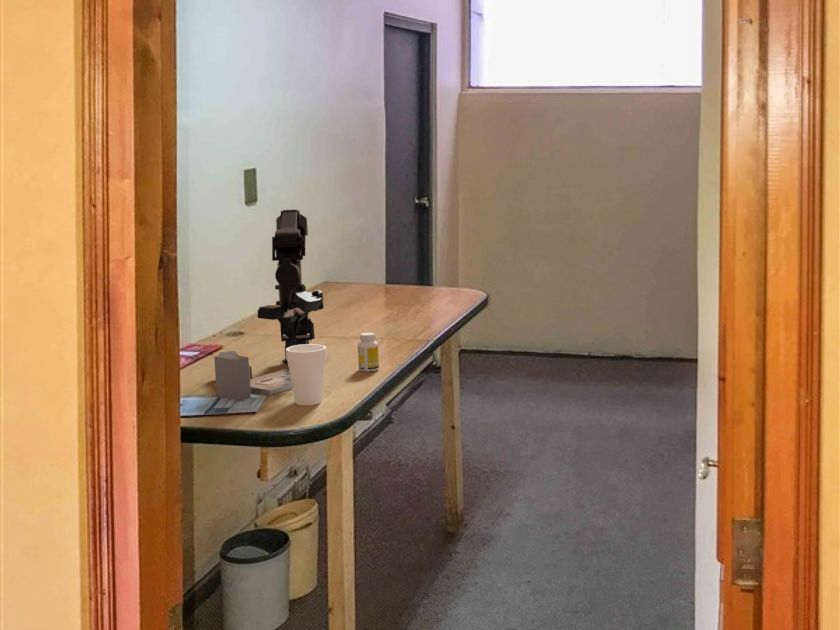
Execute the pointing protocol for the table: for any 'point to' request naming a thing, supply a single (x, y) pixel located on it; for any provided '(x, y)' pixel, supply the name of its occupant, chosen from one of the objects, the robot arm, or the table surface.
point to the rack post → (232, 376)
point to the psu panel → (272, 383)
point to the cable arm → (239, 355)
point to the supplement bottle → (368, 353)
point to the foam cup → (307, 372)
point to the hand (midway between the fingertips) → (292, 341)
